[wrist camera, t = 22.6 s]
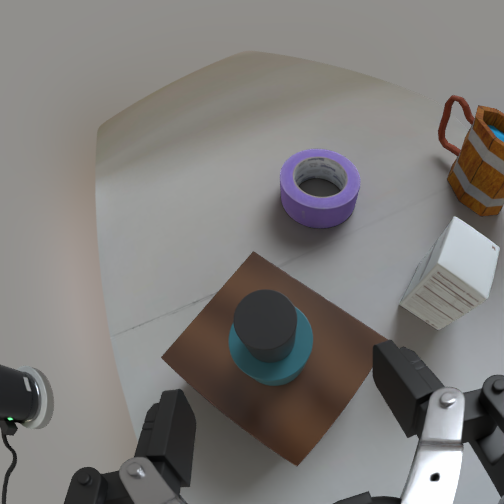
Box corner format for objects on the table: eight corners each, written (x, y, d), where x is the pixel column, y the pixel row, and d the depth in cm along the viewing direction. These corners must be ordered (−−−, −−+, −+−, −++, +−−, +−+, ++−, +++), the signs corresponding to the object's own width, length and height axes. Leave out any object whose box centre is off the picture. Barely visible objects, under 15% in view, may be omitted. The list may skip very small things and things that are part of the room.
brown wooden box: (294, 448, 28) (296, 466, 20) (192, 369, 34) (160, 357, 26) (363, 356, 33) (389, 340, 24) (261, 287, 39) (253, 251, 30)
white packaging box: (417, 263, 38) (454, 212, 27) (456, 290, 35) (502, 247, 24) (396, 304, 35) (436, 261, 24) (437, 333, 32) (489, 300, 21)
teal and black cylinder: (249, 391, 24) (219, 383, 13) (237, 332, 26) (203, 280, 16) (313, 377, 24) (334, 358, 13) (298, 318, 26) (304, 257, 16)
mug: (510, 201, 40) (544, 150, 27) (482, 229, 39) (525, 171, 26) (447, 137, 50) (467, 82, 37) (412, 153, 48) (432, 89, 35)
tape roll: (335, 242, 41) (339, 222, 36) (266, 207, 45) (263, 186, 41) (365, 188, 45) (371, 167, 40) (303, 161, 49) (304, 139, 45)
